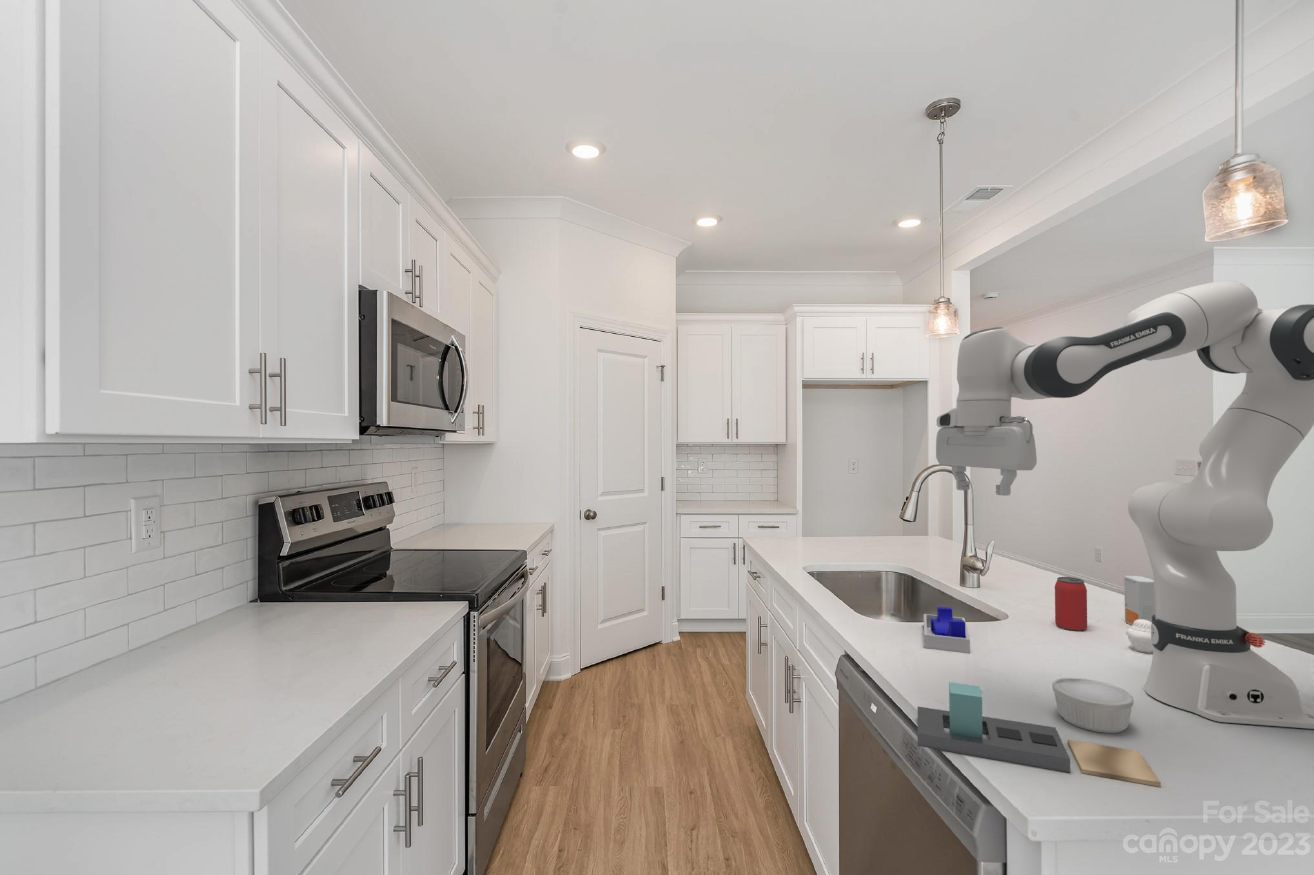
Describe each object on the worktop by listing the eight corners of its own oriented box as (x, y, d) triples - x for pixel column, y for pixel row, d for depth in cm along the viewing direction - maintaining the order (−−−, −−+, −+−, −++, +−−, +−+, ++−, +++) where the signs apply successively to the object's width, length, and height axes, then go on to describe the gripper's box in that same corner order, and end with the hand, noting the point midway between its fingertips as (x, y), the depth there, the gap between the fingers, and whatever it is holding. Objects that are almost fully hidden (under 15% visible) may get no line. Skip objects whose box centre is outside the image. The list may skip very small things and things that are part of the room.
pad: (1138, 754, 90) (1138, 750, 90) (1160, 787, 82) (1160, 782, 82) (1067, 743, 94) (1067, 739, 94) (1081, 773, 86) (1081, 768, 86)
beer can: (1093, 631, 146) (1093, 582, 146) (1066, 631, 146) (1065, 582, 146) (1075, 623, 153) (1074, 576, 153) (1049, 623, 153) (1048, 576, 153)
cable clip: (930, 630, 149) (930, 606, 149) (950, 631, 148) (950, 607, 148) (944, 647, 137) (944, 621, 137) (965, 648, 136) (965, 622, 136)
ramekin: (1083, 702, 109) (1082, 672, 109) (1151, 730, 98) (1150, 698, 98) (1036, 712, 105) (1036, 681, 105) (1102, 742, 94) (1101, 709, 94)
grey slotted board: (1055, 740, 95) (1055, 726, 95) (1070, 772, 86) (1069, 758, 86) (917, 718, 103) (917, 705, 103) (917, 745, 94) (917, 732, 94)
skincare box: (1123, 622, 153) (1123, 575, 153) (1142, 623, 152) (1141, 575, 152) (1139, 630, 147) (1139, 581, 147) (1159, 630, 146) (1158, 581, 146)
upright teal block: (979, 735, 97) (979, 686, 97) (982, 749, 93) (981, 697, 93) (949, 730, 99) (948, 682, 99) (950, 743, 95) (950, 692, 94)
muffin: (1162, 649, 134) (1161, 618, 134) (1162, 657, 129) (1161, 625, 129) (1126, 643, 138) (1126, 613, 138) (1125, 651, 133) (1125, 619, 133)
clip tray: (964, 629, 149) (964, 617, 149) (969, 653, 133) (969, 639, 133) (923, 625, 153) (923, 613, 153) (924, 647, 137) (924, 634, 137)
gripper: (1046, 416, 101) (1045, 498, 101) (957, 418, 121) (956, 487, 121) (1016, 415, 99) (1015, 498, 100) (930, 418, 119) (929, 487, 119)
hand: (982, 492), depth 110 cm, fingers open, 8 cm apart
